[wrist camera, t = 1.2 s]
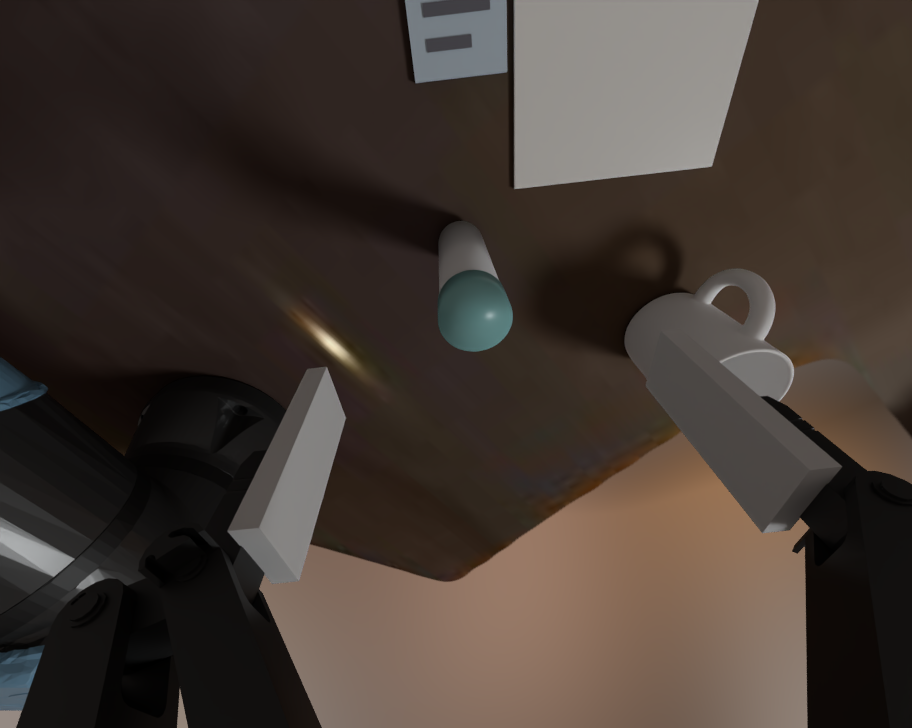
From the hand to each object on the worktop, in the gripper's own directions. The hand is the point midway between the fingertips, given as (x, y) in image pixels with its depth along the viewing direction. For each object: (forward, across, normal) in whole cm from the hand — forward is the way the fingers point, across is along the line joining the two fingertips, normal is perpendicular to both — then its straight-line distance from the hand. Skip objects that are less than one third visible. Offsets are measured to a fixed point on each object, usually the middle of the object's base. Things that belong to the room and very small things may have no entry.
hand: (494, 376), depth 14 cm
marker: (+18, 0, 0) cm, 19 cm away
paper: (+18, +12, +10) cm, 24 cm away
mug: (+19, +20, -9) cm, 29 cm away
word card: (+18, +1, +13) cm, 23 cm away
